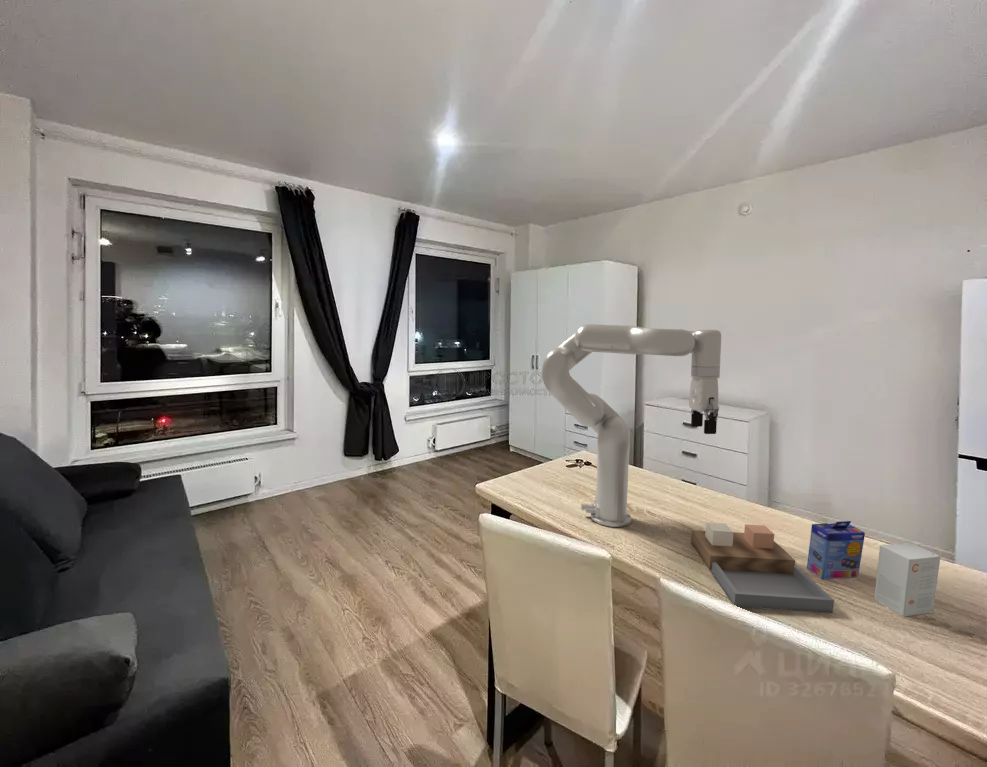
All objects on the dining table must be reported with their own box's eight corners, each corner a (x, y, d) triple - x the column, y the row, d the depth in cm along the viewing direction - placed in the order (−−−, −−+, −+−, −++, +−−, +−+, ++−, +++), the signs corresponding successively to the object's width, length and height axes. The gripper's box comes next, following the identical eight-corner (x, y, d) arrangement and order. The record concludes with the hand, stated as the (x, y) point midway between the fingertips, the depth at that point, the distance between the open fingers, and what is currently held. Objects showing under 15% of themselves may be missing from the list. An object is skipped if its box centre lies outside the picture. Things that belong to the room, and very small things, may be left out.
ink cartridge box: (823, 581, 106) (829, 524, 104) (805, 568, 111) (810, 514, 109) (861, 579, 106) (867, 522, 105) (841, 567, 112) (847, 513, 110)
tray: (734, 606, 96) (735, 593, 95) (710, 571, 109) (710, 560, 109) (832, 613, 93) (834, 600, 93) (795, 576, 107) (796, 565, 107)
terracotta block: (752, 547, 113) (753, 532, 113) (743, 538, 118) (744, 524, 118) (773, 548, 113) (774, 533, 112) (763, 539, 118) (764, 525, 117)
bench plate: (709, 570, 110) (710, 555, 109) (690, 543, 124) (691, 530, 123) (794, 575, 108) (795, 560, 107) (765, 547, 122) (766, 534, 121)
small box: (901, 595, 100) (908, 541, 98) (934, 613, 94) (942, 556, 92) (872, 599, 98) (879, 544, 97) (903, 617, 92) (910, 559, 91)
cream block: (712, 545, 115) (713, 530, 114) (705, 536, 120) (706, 522, 119) (732, 546, 114) (733, 531, 114) (724, 537, 119) (725, 523, 118)
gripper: (681, 369, 136) (679, 423, 138) (703, 375, 119) (701, 437, 121) (706, 369, 136) (704, 423, 138) (732, 375, 118) (729, 437, 120)
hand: (703, 429), depth 129 cm, fingers open, 9 cm apart
